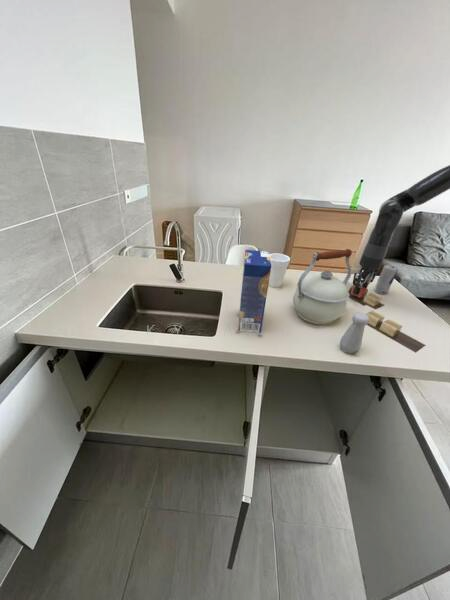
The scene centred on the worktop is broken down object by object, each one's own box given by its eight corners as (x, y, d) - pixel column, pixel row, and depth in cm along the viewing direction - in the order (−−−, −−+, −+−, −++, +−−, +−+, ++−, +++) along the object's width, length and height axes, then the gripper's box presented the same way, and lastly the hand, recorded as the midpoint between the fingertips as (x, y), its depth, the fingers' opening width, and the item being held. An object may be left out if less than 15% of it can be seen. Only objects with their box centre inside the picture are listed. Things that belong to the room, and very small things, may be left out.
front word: (366, 315, 92) (370, 307, 90) (424, 347, 78) (430, 337, 76) (355, 320, 89) (359, 312, 87) (414, 354, 75) (420, 345, 73)
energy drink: (389, 292, 109) (400, 268, 103) (383, 295, 107) (394, 270, 100) (377, 287, 113) (387, 263, 107) (371, 290, 110) (381, 266, 104)
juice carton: (260, 333, 80) (271, 266, 68) (238, 331, 81) (244, 264, 68) (259, 312, 91) (268, 251, 78) (239, 311, 91) (245, 249, 78)
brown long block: (341, 285, 113) (344, 278, 111) (384, 306, 99) (388, 298, 97) (332, 289, 109) (334, 281, 108) (375, 311, 95) (378, 303, 93)
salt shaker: (335, 342, 78) (347, 308, 71) (353, 343, 78) (367, 309, 71) (342, 355, 73) (356, 320, 66) (361, 356, 73) (377, 321, 66)
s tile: (356, 290, 106) (358, 284, 104) (366, 295, 103) (368, 289, 101) (350, 293, 104) (352, 287, 102) (359, 298, 101) (362, 291, 99)
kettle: (306, 334, 81) (327, 265, 68) (277, 305, 95) (289, 244, 82) (362, 320, 89) (389, 257, 76) (327, 296, 104) (345, 239, 91)
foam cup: (262, 278, 115) (266, 252, 108) (282, 279, 115) (287, 253, 108) (265, 288, 107) (270, 261, 100) (286, 289, 107) (292, 262, 100)
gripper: (372, 261, 88) (356, 301, 97) (393, 255, 95) (376, 293, 104) (353, 254, 93) (340, 292, 102) (374, 249, 100) (360, 285, 109)
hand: (358, 292), depth 103 cm, fingers closed on s tile, 4 cm apart
